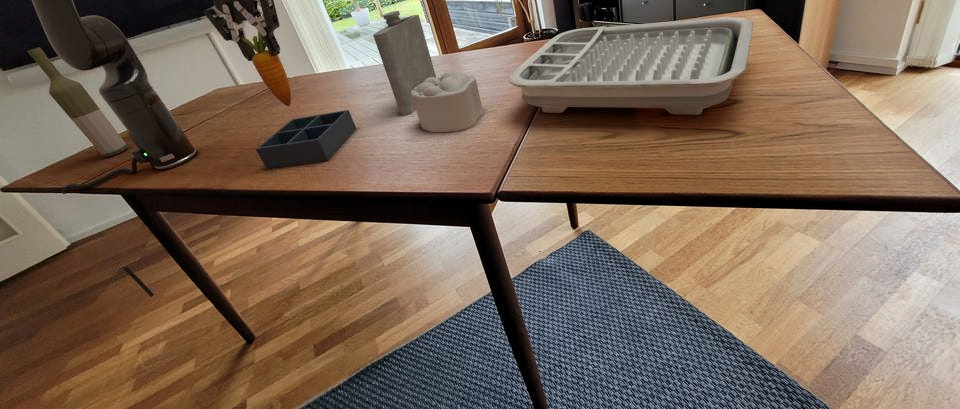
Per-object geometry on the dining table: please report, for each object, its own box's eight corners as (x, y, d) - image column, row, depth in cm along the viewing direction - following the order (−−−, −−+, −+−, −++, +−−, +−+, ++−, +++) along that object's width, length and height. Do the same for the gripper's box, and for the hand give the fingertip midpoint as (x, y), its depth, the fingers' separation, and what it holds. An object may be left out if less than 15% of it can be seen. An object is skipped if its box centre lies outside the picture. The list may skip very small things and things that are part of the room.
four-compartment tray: (266, 168, 84) (255, 149, 81) (301, 137, 95) (292, 119, 93) (328, 160, 80) (318, 139, 78) (356, 128, 92) (348, 109, 89)
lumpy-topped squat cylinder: (468, 130, 77) (457, 86, 72) (411, 133, 82) (397, 92, 78) (487, 107, 85) (478, 66, 80) (433, 111, 90) (421, 72, 85)
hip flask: (409, 114, 92) (377, 20, 81) (394, 115, 94) (362, 23, 83) (441, 87, 103) (417, 1, 92) (428, 88, 105) (403, 4, 94)
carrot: (272, 112, 85) (233, 38, 77) (285, 103, 89) (249, 31, 81) (293, 108, 84) (256, 33, 76) (304, 99, 88) (270, 27, 80)
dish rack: (736, 131, 57) (745, 75, 52) (505, 124, 76) (496, 83, 71) (749, 54, 77) (756, 9, 73) (564, 64, 96) (561, 29, 92)
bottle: (120, 147, 124) (40, 47, 107) (135, 146, 121) (56, 42, 105) (97, 159, 118) (9, 55, 102) (113, 158, 116) (26, 51, 100)
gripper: (261, -52, 73) (304, 45, 82) (197, -34, 76) (246, 58, 86) (235, -49, 67) (285, 56, 76) (167, -29, 70) (222, 69, 80)
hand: (264, 56), depth 81 cm, fingers closed on carrot, 5 cm apart
